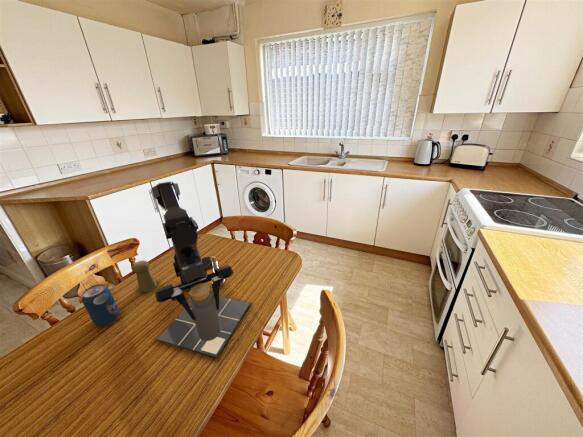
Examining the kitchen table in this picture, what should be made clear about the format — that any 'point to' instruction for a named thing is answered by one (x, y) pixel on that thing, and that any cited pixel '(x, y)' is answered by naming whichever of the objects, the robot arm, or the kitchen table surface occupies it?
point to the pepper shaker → (144, 276)
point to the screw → (215, 267)
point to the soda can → (100, 305)
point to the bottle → (205, 312)
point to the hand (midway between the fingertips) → (206, 314)
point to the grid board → (187, 334)
